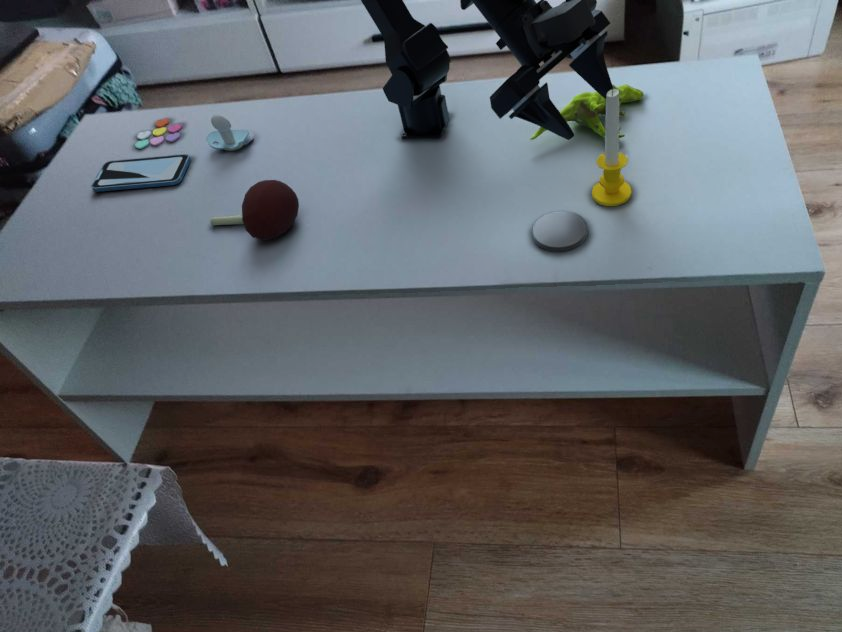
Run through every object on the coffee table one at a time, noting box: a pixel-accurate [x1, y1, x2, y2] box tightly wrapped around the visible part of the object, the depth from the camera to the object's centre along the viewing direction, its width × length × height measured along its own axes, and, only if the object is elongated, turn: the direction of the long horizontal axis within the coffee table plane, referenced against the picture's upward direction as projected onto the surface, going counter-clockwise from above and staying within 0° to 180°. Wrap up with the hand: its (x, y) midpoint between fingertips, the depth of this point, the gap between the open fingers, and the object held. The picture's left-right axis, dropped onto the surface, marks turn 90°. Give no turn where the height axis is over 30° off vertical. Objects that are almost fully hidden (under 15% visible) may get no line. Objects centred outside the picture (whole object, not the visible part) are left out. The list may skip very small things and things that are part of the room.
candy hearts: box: [134, 118, 183, 150], centre depth 122 cm, size 8×8×1 cm
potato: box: [241, 179, 300, 241], centre depth 98 cm, size 8×9×6 cm
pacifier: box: [205, 114, 255, 152], centre depth 114 cm, size 7×6×6 cm
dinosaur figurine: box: [529, 83, 644, 141], centre depth 101 cm, size 20×10×6 cm, turn 133°
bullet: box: [209, 215, 244, 226], centre depth 102 cm, size 1×1×8 cm
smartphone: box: [90, 153, 192, 193], centre depth 114 cm, size 7×1×15 cm
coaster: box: [531, 210, 588, 253], centre depth 91 cm, size 7×7×1 cm
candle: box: [591, 89, 633, 207], centre depth 88 cm, size 5×5×16 cm
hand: (592, 118), depth 87 cm, fingers open, 9 cm apart
